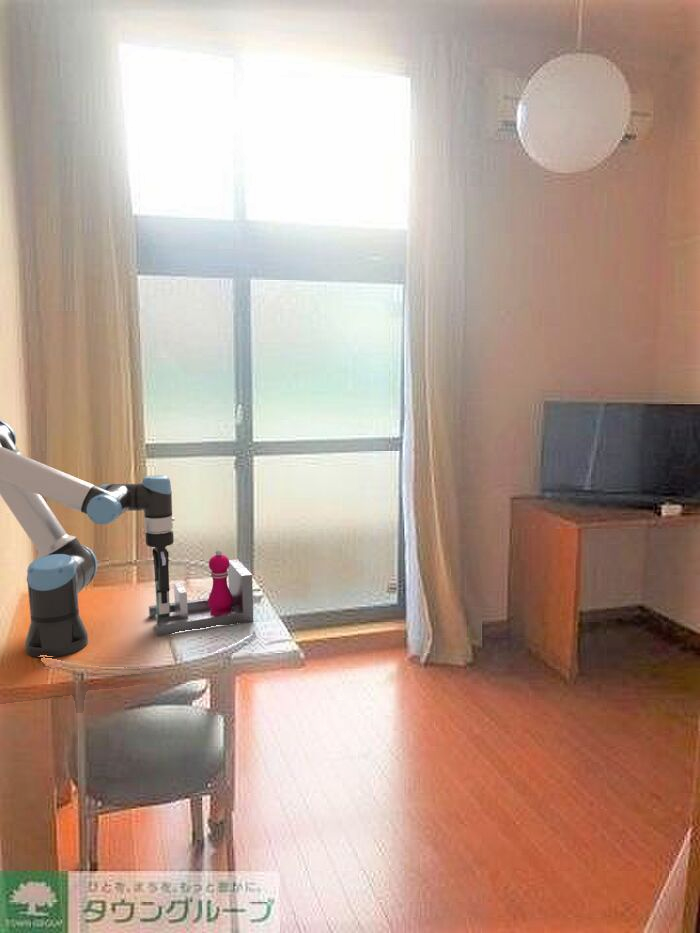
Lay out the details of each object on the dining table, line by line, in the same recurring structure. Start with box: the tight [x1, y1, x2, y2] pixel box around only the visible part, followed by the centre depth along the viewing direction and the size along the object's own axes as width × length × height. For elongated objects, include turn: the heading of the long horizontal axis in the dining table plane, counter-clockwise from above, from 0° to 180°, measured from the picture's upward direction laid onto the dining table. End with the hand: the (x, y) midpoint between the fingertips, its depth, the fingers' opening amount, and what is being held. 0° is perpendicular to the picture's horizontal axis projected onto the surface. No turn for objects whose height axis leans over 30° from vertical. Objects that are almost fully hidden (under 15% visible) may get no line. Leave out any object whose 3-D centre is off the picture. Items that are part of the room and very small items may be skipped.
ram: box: [154, 581, 189, 625], centre depth 193 cm, size 8×10×12 cm
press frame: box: [148, 559, 254, 637], centre depth 196 cm, size 27×17×14 cm, turn 113°
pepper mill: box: [208, 549, 233, 616], centre depth 198 cm, size 7×7×20 cm
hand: (163, 610), depth 192 cm, fingers closed on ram, 4 cm apart
